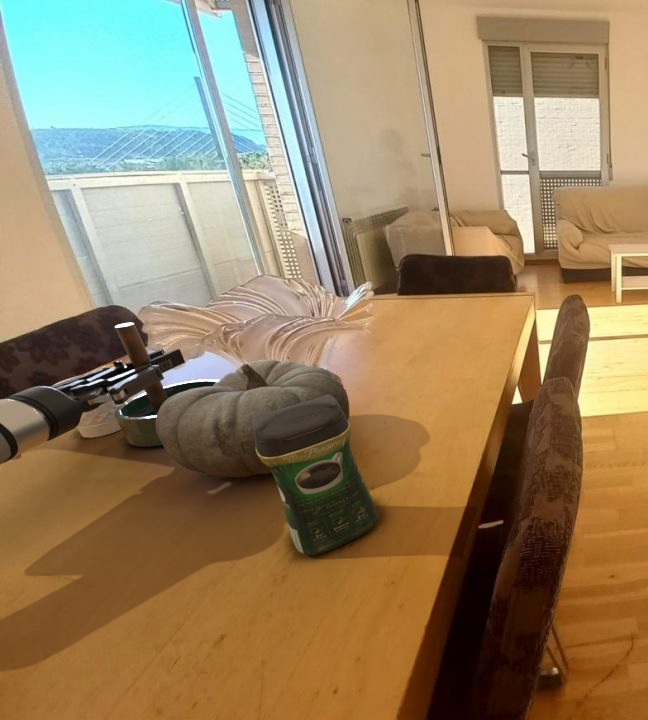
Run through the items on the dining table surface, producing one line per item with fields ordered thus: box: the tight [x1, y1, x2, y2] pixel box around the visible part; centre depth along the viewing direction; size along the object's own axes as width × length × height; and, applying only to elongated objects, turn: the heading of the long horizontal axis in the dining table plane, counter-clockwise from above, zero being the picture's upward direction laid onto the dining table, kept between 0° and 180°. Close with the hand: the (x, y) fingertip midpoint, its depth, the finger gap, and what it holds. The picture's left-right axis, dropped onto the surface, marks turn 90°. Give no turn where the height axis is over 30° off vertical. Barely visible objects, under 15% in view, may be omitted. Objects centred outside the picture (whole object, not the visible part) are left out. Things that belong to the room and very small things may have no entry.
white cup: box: [53, 374, 124, 439], centre depth 87 cm, size 8×8×10 cm
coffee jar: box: [252, 395, 378, 556], centre depth 59 cm, size 10×8×19 cm
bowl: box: [114, 378, 220, 448], centre depth 88 cm, size 16×16×6 cm
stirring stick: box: [114, 322, 168, 416], centre depth 83 cm, size 5×5×18 cm
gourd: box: [155, 358, 351, 478], centre depth 77 cm, size 25×25×17 cm
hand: (172, 356), depth 88 cm, fingers closed on stirring stick, 2 cm apart
